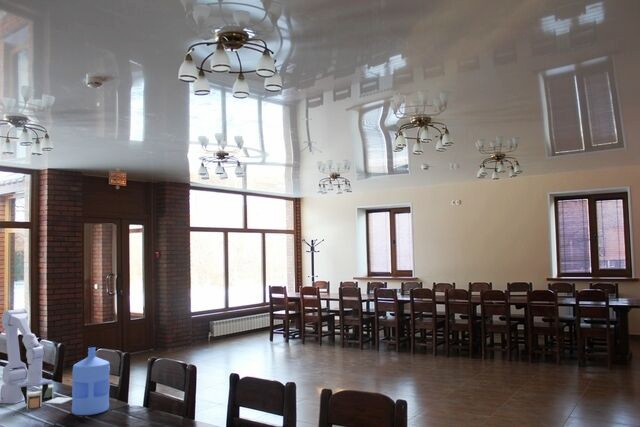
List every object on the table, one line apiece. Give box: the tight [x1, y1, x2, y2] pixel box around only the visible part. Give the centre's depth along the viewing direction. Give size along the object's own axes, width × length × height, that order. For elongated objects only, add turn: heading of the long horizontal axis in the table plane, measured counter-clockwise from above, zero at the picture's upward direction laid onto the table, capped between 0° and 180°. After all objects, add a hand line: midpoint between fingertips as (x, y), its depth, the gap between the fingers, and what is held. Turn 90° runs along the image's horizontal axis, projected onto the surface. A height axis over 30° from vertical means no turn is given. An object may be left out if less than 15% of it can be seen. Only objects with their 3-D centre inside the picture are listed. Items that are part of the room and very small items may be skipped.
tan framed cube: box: [26, 390, 43, 410], centre depth 246 cm, size 6×6×6 cm
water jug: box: [70, 346, 111, 416], centre depth 239 cm, size 16×16×28 cm
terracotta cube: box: [28, 397, 40, 409], centre depth 246 cm, size 4×4×4 cm
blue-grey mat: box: [43, 396, 72, 405], centre depth 255 cm, size 9×9×1 cm
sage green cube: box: [39, 383, 55, 400], centre depth 260 cm, size 6×6×6 cm
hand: (34, 402), depth 246 cm, fingers closed on tan framed cube, 6 cm apart
